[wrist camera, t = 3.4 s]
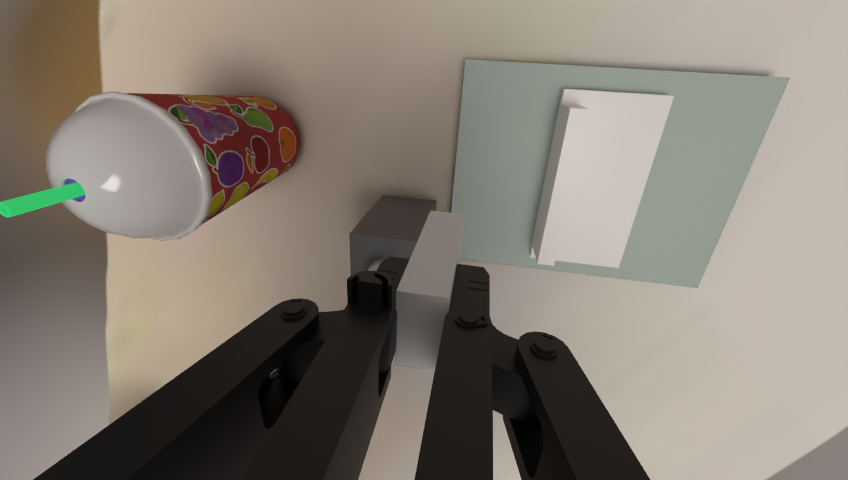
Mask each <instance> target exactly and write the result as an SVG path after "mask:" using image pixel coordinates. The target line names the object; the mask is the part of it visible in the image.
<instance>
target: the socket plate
mask: <svg viewBox="0 0 848 480" xmlns="http://www.w3.org/2000/svg"><path fill="white" fill-rule="evenodd" d="M789 79H790V78H787V77H769V76H752V75H734V74H717V73H699V72H681V71H664V70H646V69H629V68H611V67H594V66H576V65H559V64H541V63H524V62H506V61H488V60H471V59H465V67H464V78H463V89H462V100H461V110H460V121H459V132H458V142H457V153H456V164H455V175H454V185H453V196H452V207H451V213H457V214H464V222H463V232H462V241H461V250H460V259H464V260H472V261H481V262H489V263H497V264H505V265H513V266H521V267H530V268H538V269H546V270H554V271H562V272H571V273H579V274H587V275H595V276H603V277H611V278H620V279H628V280H636V281H644V282H652V283H660V284H669V285H677V286H685V287H693V288H698V286H699V284H700V281H701V279H702V277H703V275H704V272H705V270H706V268H707V265H708V263H709V261H710V259H711V256H712V254H713V252H714V250H715V247H716V245H717V243H718V240H719V238H720V236H721V234H722V231H723V229H724V227H725V225H726V222H727V220H728V218H729V215H730V213H731V211H732V209H733V206H734V204H735V202H736V199H737V197H738V195H739V193H740V190H741V188H742V186H743V184H744V181H745V179H746V177H747V174H748V172H749V170H750V168H751V165H752V163H753V161H754V159H755V156H756V154H757V152H758V149H759V147H760V145H761V143H762V140H763V138H764V136H765V134H766V131H767V129H768V127H769V124H770V122H771V120H772V118H773V115H774V113H775V111H776V108H777V106H778V104H779V102H780V99H781V97H782V95H783V93H784V90H785V88H786V86H787V83H788V81H789ZM562 89H578V90H593V91H609V92H624V93H640V94H655V95H670V96H674V98H673V102H672V105H671V108H670V111H669V114H668V117H667V120H666V123H665V126H664V129H663V132H662V136H661V139H660V142H659V145H658V148H657V151H656V154H655V157H654V160H653V163H652V167H651V170H650V173H649V176H648V179H647V182H646V185H645V188H644V191H643V194H642V197H641V201H640V204H639V207H638V210H637V213H636V216H635V219H634V222H633V225H632V228H631V232H630V235H629V238H628V241H627V244H626V247H625V250H624V253H623V256H622V259H621V263H620V266H619V268H614V267H605V266H597V265H588V264H580V263H572V262H563V261H555V263H554V266H551V265H542V264H537V261H536V258H530V254H529V253H530V248H531V243H532V238H533V233H534V228H535V223H536V218H537V213H538V208H539V203H540V198H541V193H542V188H543V183H544V178H545V173H546V168H547V163H548V158H549V153H550V148H551V143H552V138H553V133H554V128H555V123H556V118H557V113H558V109H559V104H560V99H561V94H562Z"/></svg>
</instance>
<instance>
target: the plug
mask: <svg viewBox="0 0 848 480" xmlns="http://www.w3.org/2000/svg"><path fill="white" fill-rule="evenodd" d="M436 203H437V201H431V200H422V199H412V198H403V197H393V196H382V197H381V198H380V199H379V200H378V202H377V203H376V204H375V205H374V206H373V207H372V209H371V210H370V211H369V212H368V213H367V214H366V216H365V217H364V218H363V219H362V220H361V221H360V222H359V224H358V225H357V226H356V227H355V228H354V229H353V231H352V232H351V233H350V261H351V275H353V274H355V273H358V272H362V271H377V268H378V267H379V265H380V263H381V262H382V261H384V260H385V259H387V258H388V257H398V258H406V259H410V258H411V255H412V253H413V251H414V248H415V246H416V243H417V241H418V239H419V236H420V234H421V232H422V229H423V227H424V225H425V222H426V220H427V218H428V215H429V213H430V211H436Z"/></svg>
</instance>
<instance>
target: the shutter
mask: <svg viewBox="0 0 848 480" xmlns="http://www.w3.org/2000/svg"><path fill="white" fill-rule="evenodd" d="M673 98H674V96H670V95H655V94H640V93H624V92H609V91H593V90H578V89H562V94H561V99H560V104H559V109H558V113H557V118H556V123H555V128H554V133H553V138H552V143H551V148H550V153H549V158H548V163H547V168H546V173H545V178H544V183H543V188H542V193H541V198H540V203H539V208H538V213H537V218H536V223H535V228H534V233H533V238H532V243H531V248H530V253H529V254H530V258H536V261H537V264H542V265H551V266H554V263H555V261H563V262H572V263H580V264H588V265H597V266H605V267H614V268H619V266H620V263H621V259H622V256H623V253H624V250H625V247H626V244H627V241H628V238H629V235H630V232H631V228H632V225H633V222H634V219H635V216H636V213H637V210H638V207H639V204H640V201H641V197H642V194H643V191H644V188H645V185H646V182H647V179H648V176H649V173H650V170H651V167H652V163H653V160H654V157H655V154H656V151H657V148H658V145H659V142H660V139H661V136H662V132H663V129H664V126H665V123H666V120H667V117H668V114H669V111H670V108H671V105H672V102H673Z"/></svg>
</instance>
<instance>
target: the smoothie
mask: <svg viewBox="0 0 848 480" xmlns="http://www.w3.org/2000/svg"><path fill="white" fill-rule="evenodd" d="M298 147H299V136H298V133H297V129H296V126H295V124H294V123H293V121H292V120H291V118H290V116H289V115H288V114H287V113H285V112H284V111H283V110H282V109H281V108H280V107H279V106H278V105H277V104H276V103H274V102H272V101H269V100H267V99H265V98H262V97H255V96H223V95H179V94H136V93H120V92H107V93H102V94H97V95H92V96H91V97H90V98H88V99H87V100H86V101H85V102H84V103H82V104H81V105H80V106H79V107H78V108H77V109H76V111H75V113H74V114H72V115H71V116H70V117H69V118H67V119H66V120H65V121H64V122H63V123H62V124H60V125H59V127H58V128H57V129H56V131H55V132H54V134H53V137H52V139H51V141H50V143H49V146H48V149H47V152H46V169H47V174H48V177H49V180H50V184H51V186H52V189H48V190H45V191H41V192H37V193H34V194H30V195H25V196H22V197H18V198H15V199H11V200H6V201H3V202H0V214H2V215H3V216H5V217H12V216H16V215H19V214H23V213H26V212H29V211H33V210H36V209H39V208H42V207H46V206H50V205H53V204H56V203H60V202H62V203H63V204H64V205H65V206H66V207H67V209H69V210H70V211H71V212H72V213H74V214H75V215H76V216H77V217H79V218H80V219H81V220H82V221H84V222H86V223H88V224H90V225H91V226H94V227H96V228H98V229H100V230H102V231H105V232H107V233H112V234H116V235H121V236H126V237H131V238H151V239H156V240H161V241H163V240H174V239H181V238H182V237H184V236H186V235H188V234H190V233H191V232H193V231H195V230H196V229H197V228H198V227H199V226H200V225H202V224H203V223H205V222H207V221H208V220H210V219H211V218H213V217H214V216H216V215H218V214H219V213H221V212H222V211H224V210H226V209H227V208H229V207H230V206H232V205H234V204H235V203H237V202H238V201H240V200H242V199H243V198H245V197H246V196H248V195H249V194H251V193H253V192H254V191H256V190H257V189H259V188H261V187H262V186H264V185H265V184H267V183H269V182H270V181H272V180H273V179H275V178H276V177H278V176H280V175H281V174H283V173H284V172H286V171H288V170H289V169H290V168H291V166H292V165H293V163H294V162H295V160H296V156H297V153H298Z"/></svg>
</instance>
